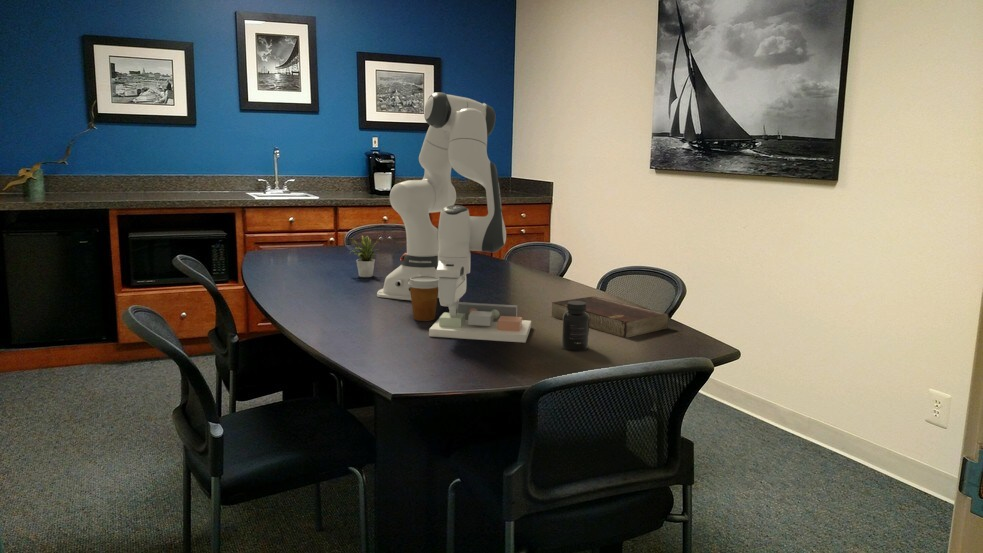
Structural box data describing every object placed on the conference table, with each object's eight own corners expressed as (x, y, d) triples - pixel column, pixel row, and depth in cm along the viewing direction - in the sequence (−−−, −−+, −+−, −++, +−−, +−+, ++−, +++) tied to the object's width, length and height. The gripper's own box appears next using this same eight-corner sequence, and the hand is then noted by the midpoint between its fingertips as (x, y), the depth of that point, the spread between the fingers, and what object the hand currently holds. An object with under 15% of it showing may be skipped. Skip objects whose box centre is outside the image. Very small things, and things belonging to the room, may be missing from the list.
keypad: (429, 336, 191) (429, 312, 190) (441, 322, 206) (442, 300, 205) (525, 342, 187) (526, 318, 186) (531, 327, 203) (531, 305, 201)
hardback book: (667, 329, 206) (668, 312, 205) (625, 339, 194) (626, 322, 194) (593, 310, 228) (594, 295, 227) (551, 318, 216) (552, 302, 215)
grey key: (468, 324, 192) (468, 315, 192) (472, 319, 198) (472, 310, 198) (490, 325, 191) (490, 316, 191) (493, 320, 197) (493, 311, 197)
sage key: (439, 326, 193) (439, 317, 193) (443, 321, 199) (444, 312, 199) (460, 327, 193) (461, 318, 192) (464, 322, 198) (465, 313, 198)
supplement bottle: (559, 344, 186) (561, 299, 184) (584, 344, 187) (587, 299, 185) (564, 351, 180) (566, 305, 177) (590, 351, 180) (593, 305, 178)
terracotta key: (497, 329, 191) (497, 320, 191) (500, 324, 197) (500, 315, 197) (519, 331, 190) (519, 322, 190) (521, 325, 196) (522, 317, 196)
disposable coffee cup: (415, 323, 204) (415, 282, 202) (403, 316, 212) (403, 276, 210) (445, 320, 208) (445, 280, 206) (432, 313, 216) (433, 274, 214)
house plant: (341, 273, 278) (340, 231, 275) (375, 271, 284) (375, 230, 281) (350, 279, 266) (349, 236, 263) (386, 277, 271) (385, 235, 268)
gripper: (450, 259, 203) (449, 306, 206) (434, 271, 184) (434, 323, 186) (471, 260, 203) (471, 307, 205) (458, 272, 183) (457, 325, 185)
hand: (453, 315), depth 195 cm, fingers closed, pressing on sage key
